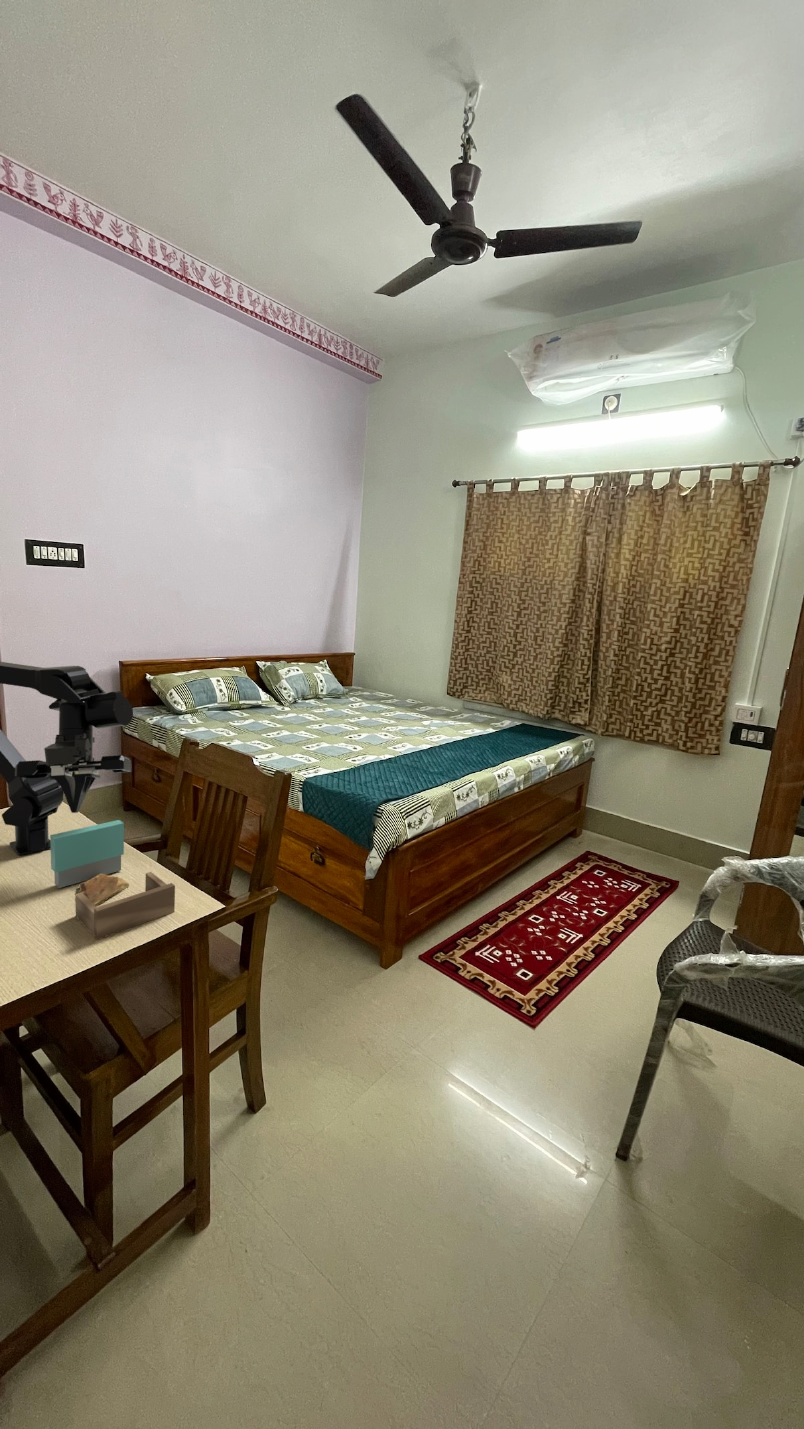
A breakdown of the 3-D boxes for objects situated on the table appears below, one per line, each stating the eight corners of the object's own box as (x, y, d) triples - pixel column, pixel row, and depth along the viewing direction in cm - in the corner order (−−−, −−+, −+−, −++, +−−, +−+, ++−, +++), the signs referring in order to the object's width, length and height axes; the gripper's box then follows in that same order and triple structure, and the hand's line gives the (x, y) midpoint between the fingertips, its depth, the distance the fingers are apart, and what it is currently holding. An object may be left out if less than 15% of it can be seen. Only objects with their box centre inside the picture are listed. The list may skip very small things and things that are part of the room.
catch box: (75, 916, 95) (75, 888, 94) (150, 891, 105) (151, 866, 104) (97, 939, 90) (97, 911, 89) (174, 911, 100) (175, 885, 99)
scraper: (51, 884, 103) (50, 835, 101) (119, 865, 112) (119, 819, 111) (55, 889, 102) (54, 838, 100) (123, 869, 111) (123, 823, 109)
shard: (84, 918, 96) (84, 908, 96) (48, 907, 98) (48, 898, 97) (131, 889, 106) (131, 880, 106) (97, 879, 108) (97, 871, 108)
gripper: (1, 727, 100) (-3, 816, 98) (114, 721, 104) (114, 807, 101) (30, 736, 111) (27, 817, 108) (132, 730, 114) (132, 809, 112)
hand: (74, 812), depth 107 cm, fingers closed
